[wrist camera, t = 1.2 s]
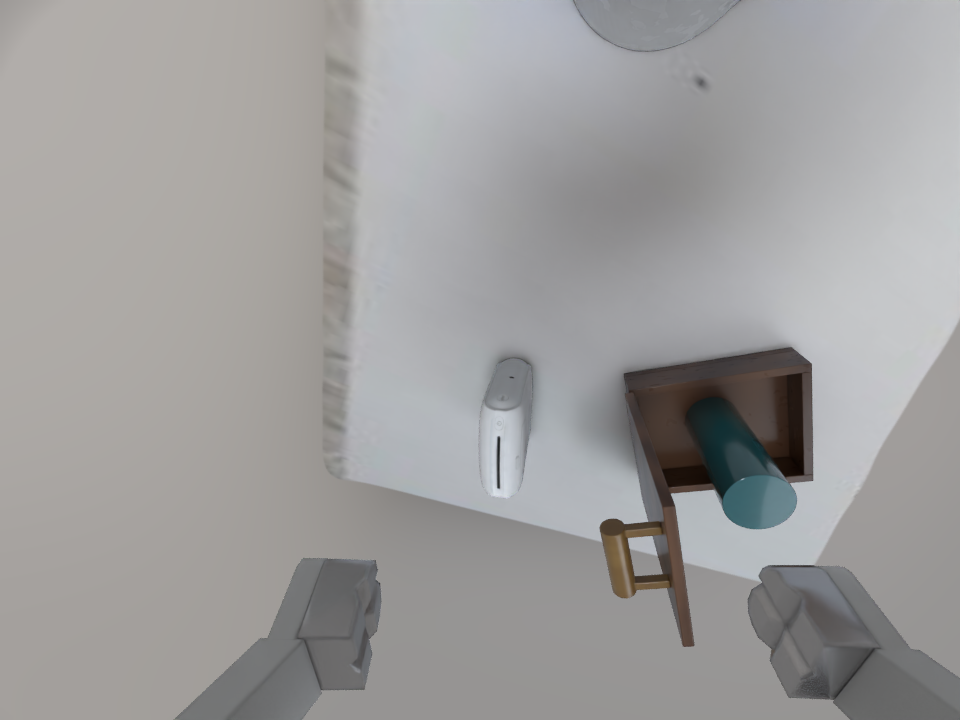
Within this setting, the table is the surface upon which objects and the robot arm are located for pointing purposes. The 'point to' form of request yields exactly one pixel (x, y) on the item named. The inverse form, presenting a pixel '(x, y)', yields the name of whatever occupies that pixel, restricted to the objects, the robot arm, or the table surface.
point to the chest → (756, 394)
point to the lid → (649, 532)
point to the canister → (739, 466)
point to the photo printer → (505, 428)
